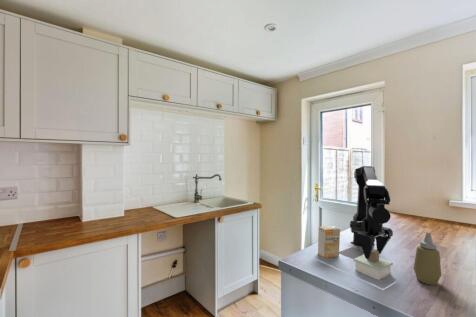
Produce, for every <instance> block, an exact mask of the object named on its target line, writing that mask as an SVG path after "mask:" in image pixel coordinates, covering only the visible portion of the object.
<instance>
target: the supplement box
mask: <svg viewBox="0 0 476 317" xmlns="http://www.w3.org/2000/svg"><path fill="white" fill-rule="evenodd" d="M340 238H341V227H340V228H339V227H338V226H336V225H327V226H326V225H325V226H324V225H323V226H318V238H317V239H318V240H317V241H318V242H317V255H319V256H320V257H322V258H323V259H325V258H326V259H327V258H333V257H339V256H340V254H339V252H340V244H341V243H340V241H341V240H340Z"/></svg>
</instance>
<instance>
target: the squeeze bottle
mask: <svg viewBox="0 0 476 317" xmlns="http://www.w3.org/2000/svg"><path fill="white" fill-rule="evenodd" d="M440 256H441V254H440V251H439V249H437V244H436V242H433V238H432V234H431V232H428V231H427V232H425V236H424V238H423V240H420V241H419V245H418V246H416V251H415V256H414V263H413V271H414V274H415V278H416V280H418V281H419V282H421V283H423V284H426V285H433V286H434V285H437V284H438V283H439V281H440V278H441V277H442V268H441V267H442V266H441V257H440Z"/></svg>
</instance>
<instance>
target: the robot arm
mask: <svg viewBox="0 0 476 317" xmlns="http://www.w3.org/2000/svg"><path fill="white" fill-rule="evenodd" d="M353 175H354V179H355V182H356V183H357V205H356V213H355V214H354V215H353V216H352V220H350V222H349V228H350V232H351V233H352V234H353V239H352V241H351V242H350V244H352V245H355V246H358V247H361V250H363V252H364V255H365V258H366V259H369V257H370V255H371V253H372V250H373V249H374V248H375V245H376V250H377V251H379V255H381V253H382V252H383V250H384V249H385V247H386V246H387V244H388V242H389V241H390V240H391V238H392V237H393V236H394V235H393V234H394V231H393V230H392V229H391V228H389V227H386V226H384V224H387V223H389V221H390V220H391V213H390V211H389V210H388V208H386V207H385V206H386V205H388V206H389V205H390V202H391V197H390V194H389V191H388V188H387V187H386V186H385V184H384V183H383V182H381V181H379V180H378V176H377V174H376V169H375V166H373V165H361V166H360V167H358V168H356V169H354V173H353Z"/></svg>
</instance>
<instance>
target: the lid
mask: <svg viewBox="0 0 476 317" xmlns="http://www.w3.org/2000/svg"><path fill="white" fill-rule="evenodd" d="M379 256H380V254H379V251H377V249H374V248H373V250H372V253H371V255H370V257H369V259H366V258H365V255H362V256H359V257H357V258H354V259H353V261H354V262H355V263H356V262H358V263H360V264H363V265H365V266H368V267H370V268H373V269H375V270H378V271H382V270H384V269H385V268H387V267H389V266H391V267H392V266H393V264H394V263H393V261H390V260H388V259H385V258H381V257H379Z"/></svg>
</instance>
